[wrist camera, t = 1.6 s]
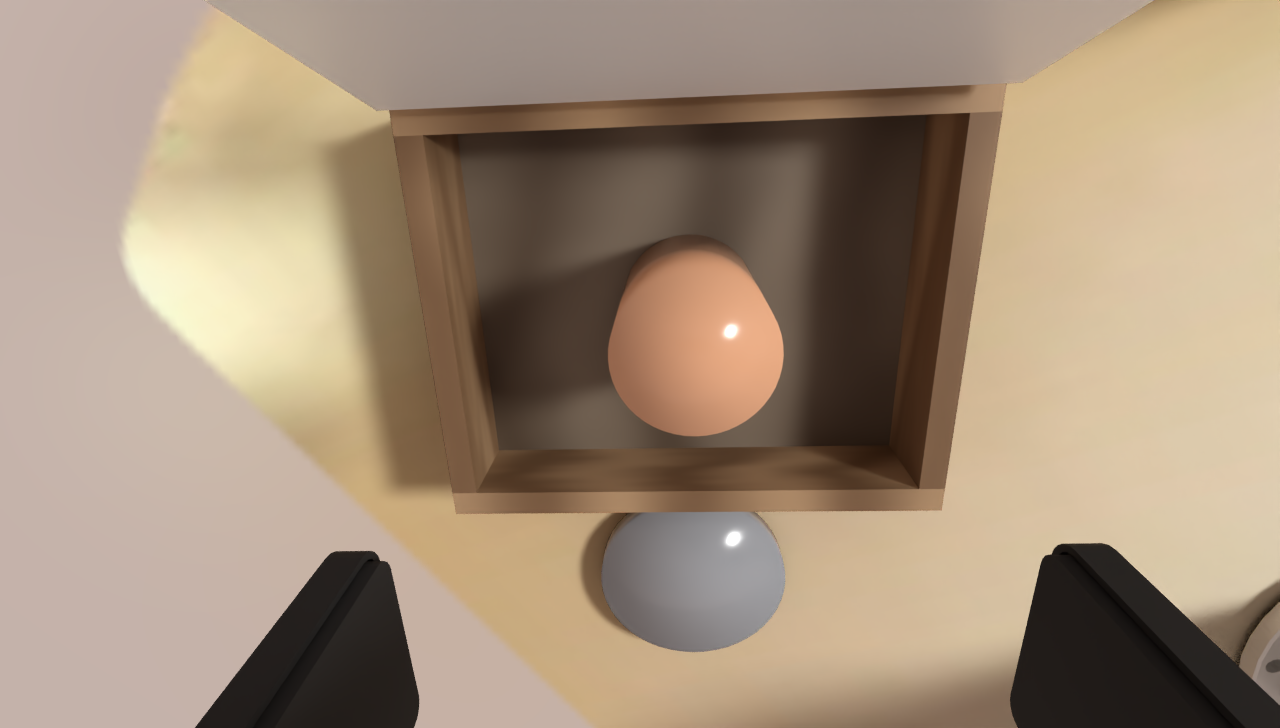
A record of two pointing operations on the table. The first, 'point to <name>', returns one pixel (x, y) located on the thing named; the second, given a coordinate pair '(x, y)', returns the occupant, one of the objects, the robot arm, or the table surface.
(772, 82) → the lid
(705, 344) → the peach rounded knob
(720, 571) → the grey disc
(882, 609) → the table surface
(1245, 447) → the table surface
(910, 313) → the wooden box
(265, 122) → the table surface
